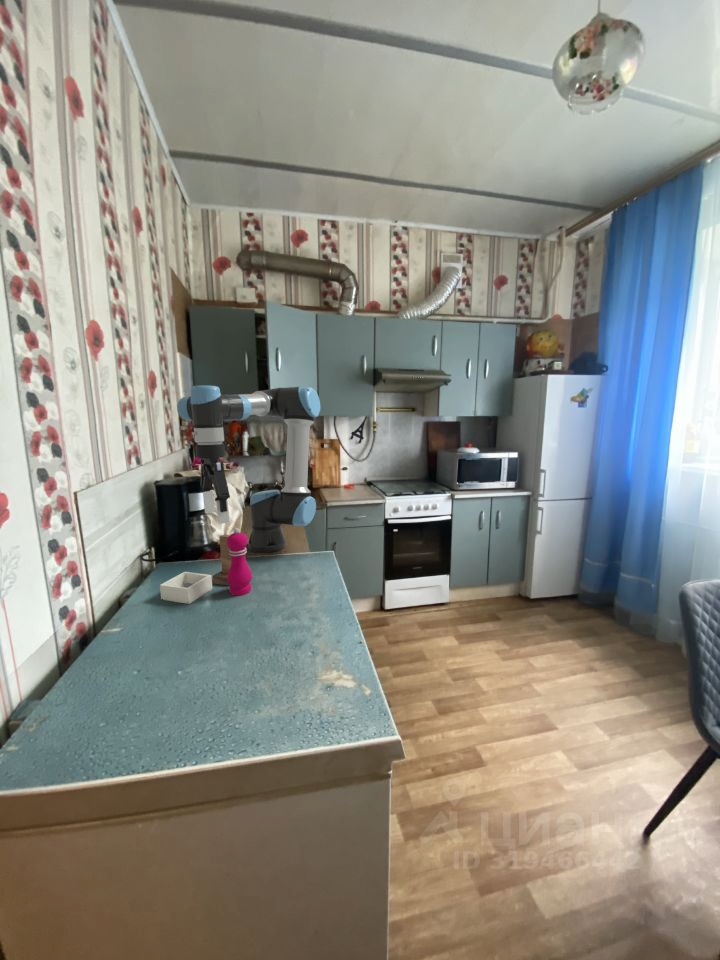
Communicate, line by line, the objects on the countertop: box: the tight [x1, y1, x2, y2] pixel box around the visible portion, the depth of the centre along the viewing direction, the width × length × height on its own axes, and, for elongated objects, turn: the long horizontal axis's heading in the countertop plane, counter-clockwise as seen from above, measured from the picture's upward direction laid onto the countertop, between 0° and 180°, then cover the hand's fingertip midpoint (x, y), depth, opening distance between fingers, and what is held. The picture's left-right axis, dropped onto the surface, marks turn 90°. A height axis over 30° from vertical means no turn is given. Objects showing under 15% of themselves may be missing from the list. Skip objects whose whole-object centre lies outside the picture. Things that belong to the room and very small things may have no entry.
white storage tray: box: [159, 571, 213, 605], centre depth 112 cm, size 10×10×4 cm
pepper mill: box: [227, 527, 253, 597], centre depth 113 cm, size 7×7×20 cm
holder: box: [212, 570, 231, 587], centre depth 122 cm, size 7×7×2 cm
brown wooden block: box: [218, 534, 231, 575], centre depth 121 cm, size 2×4×15 cm, turn 73°
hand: (216, 517), depth 107 cm, fingers open, 13 cm apart
